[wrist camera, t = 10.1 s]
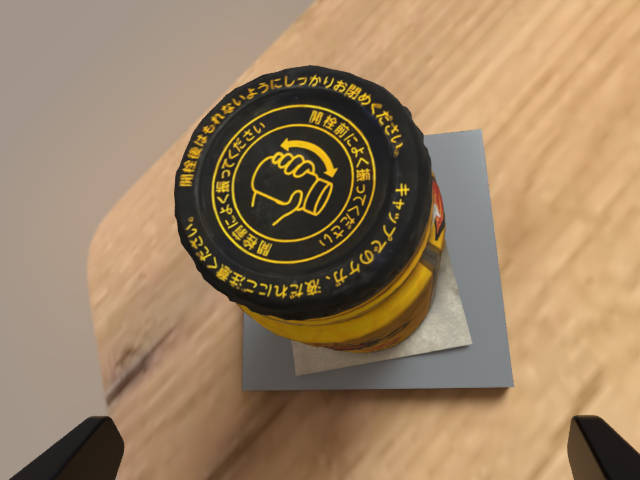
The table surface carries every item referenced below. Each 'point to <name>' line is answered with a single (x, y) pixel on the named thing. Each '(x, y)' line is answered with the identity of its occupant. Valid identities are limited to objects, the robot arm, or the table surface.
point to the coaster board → (473, 285)
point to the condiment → (322, 219)
